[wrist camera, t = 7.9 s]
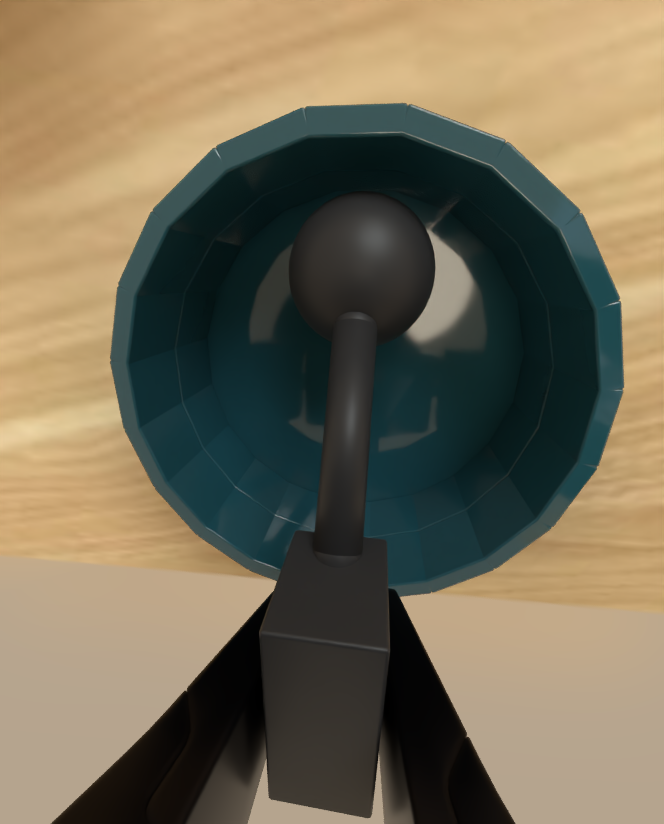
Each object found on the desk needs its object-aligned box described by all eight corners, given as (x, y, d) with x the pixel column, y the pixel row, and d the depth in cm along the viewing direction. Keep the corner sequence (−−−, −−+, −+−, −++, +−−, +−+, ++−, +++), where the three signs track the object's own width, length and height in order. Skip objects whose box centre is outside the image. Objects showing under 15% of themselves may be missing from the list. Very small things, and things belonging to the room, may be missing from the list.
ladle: (304, 209, 10) (133, 24, 3) (432, 209, 10) (572, -4, 3) (304, 538, 14) (228, 793, 7) (396, 548, 14) (414, 829, 6)
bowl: (494, 514, 15) (546, 624, 10) (219, 487, 16) (152, 572, 11) (571, 175, 10) (725, 91, 6) (186, 179, 12) (58, 113, 7)
